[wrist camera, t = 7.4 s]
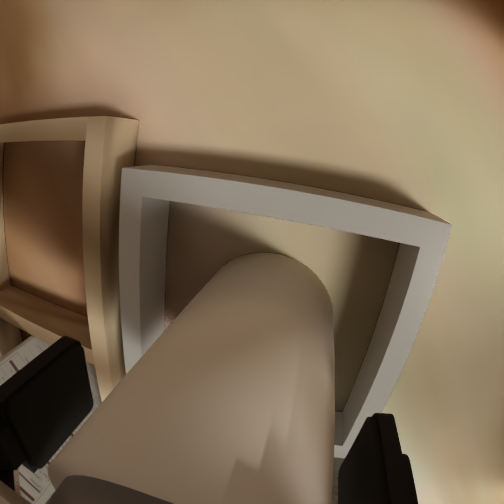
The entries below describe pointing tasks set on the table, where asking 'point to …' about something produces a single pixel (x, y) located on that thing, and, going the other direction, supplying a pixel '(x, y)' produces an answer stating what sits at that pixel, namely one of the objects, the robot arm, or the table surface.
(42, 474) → the supplement box
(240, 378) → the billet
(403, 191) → the table surface
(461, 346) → the table surface
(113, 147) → the wooden frame with crossbar
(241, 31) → the table surface
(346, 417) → the frame
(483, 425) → the table surface
